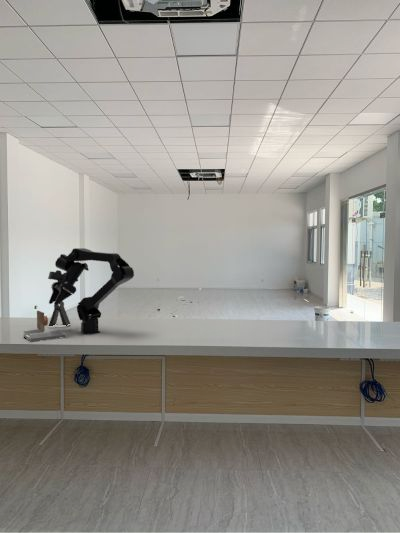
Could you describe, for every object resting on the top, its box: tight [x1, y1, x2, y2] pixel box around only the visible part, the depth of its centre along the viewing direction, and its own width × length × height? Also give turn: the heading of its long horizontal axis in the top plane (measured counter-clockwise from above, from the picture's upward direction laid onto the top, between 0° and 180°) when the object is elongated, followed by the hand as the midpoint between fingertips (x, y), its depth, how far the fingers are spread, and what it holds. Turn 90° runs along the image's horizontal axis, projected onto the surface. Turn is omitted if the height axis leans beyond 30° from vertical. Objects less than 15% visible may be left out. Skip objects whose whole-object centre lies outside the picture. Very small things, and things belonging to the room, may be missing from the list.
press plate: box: [36, 310, 49, 332], centre depth 167 cm, size 3×8×8 cm, turn 37°
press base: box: [23, 328, 66, 343], centre depth 167 cm, size 14×11×3 cm
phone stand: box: [48, 300, 71, 326], centre depth 192 cm, size 9×6×12 cm, turn 92°
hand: (52, 303), depth 172 cm, fingers open, 9 cm apart
